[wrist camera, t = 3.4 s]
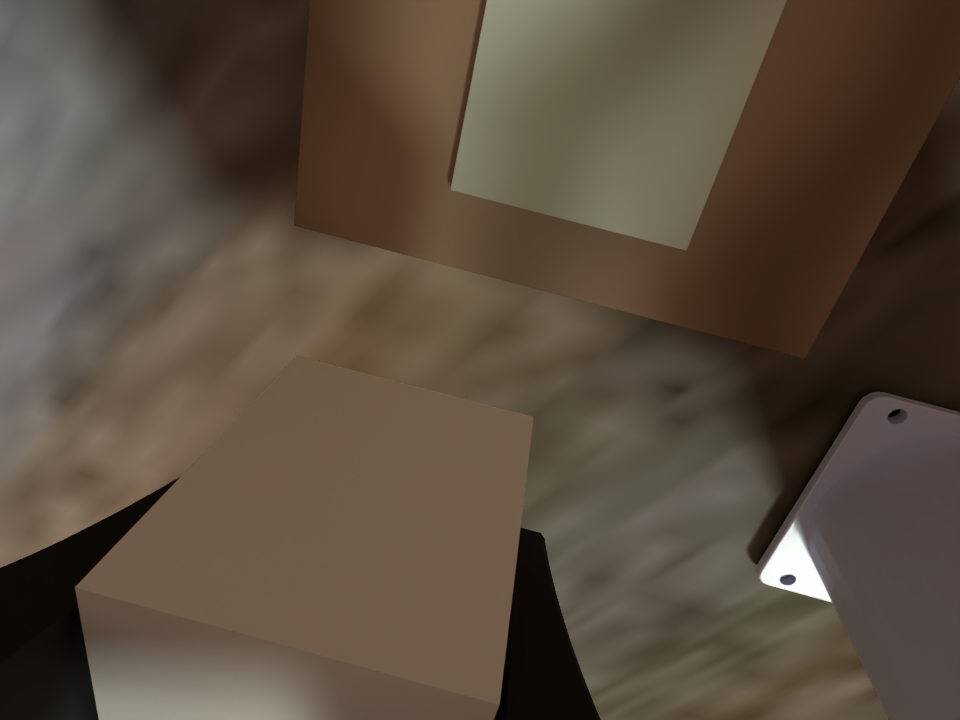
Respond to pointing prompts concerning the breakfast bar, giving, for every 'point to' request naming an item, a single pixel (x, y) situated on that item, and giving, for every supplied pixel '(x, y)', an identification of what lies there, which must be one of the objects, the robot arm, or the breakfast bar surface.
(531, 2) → the walnut base
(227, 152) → the breakfast bar surface
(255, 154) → the breakfast bar surface
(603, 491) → the breakfast bar surface
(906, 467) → the robot arm
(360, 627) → the cream block
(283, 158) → the breakfast bar surface
